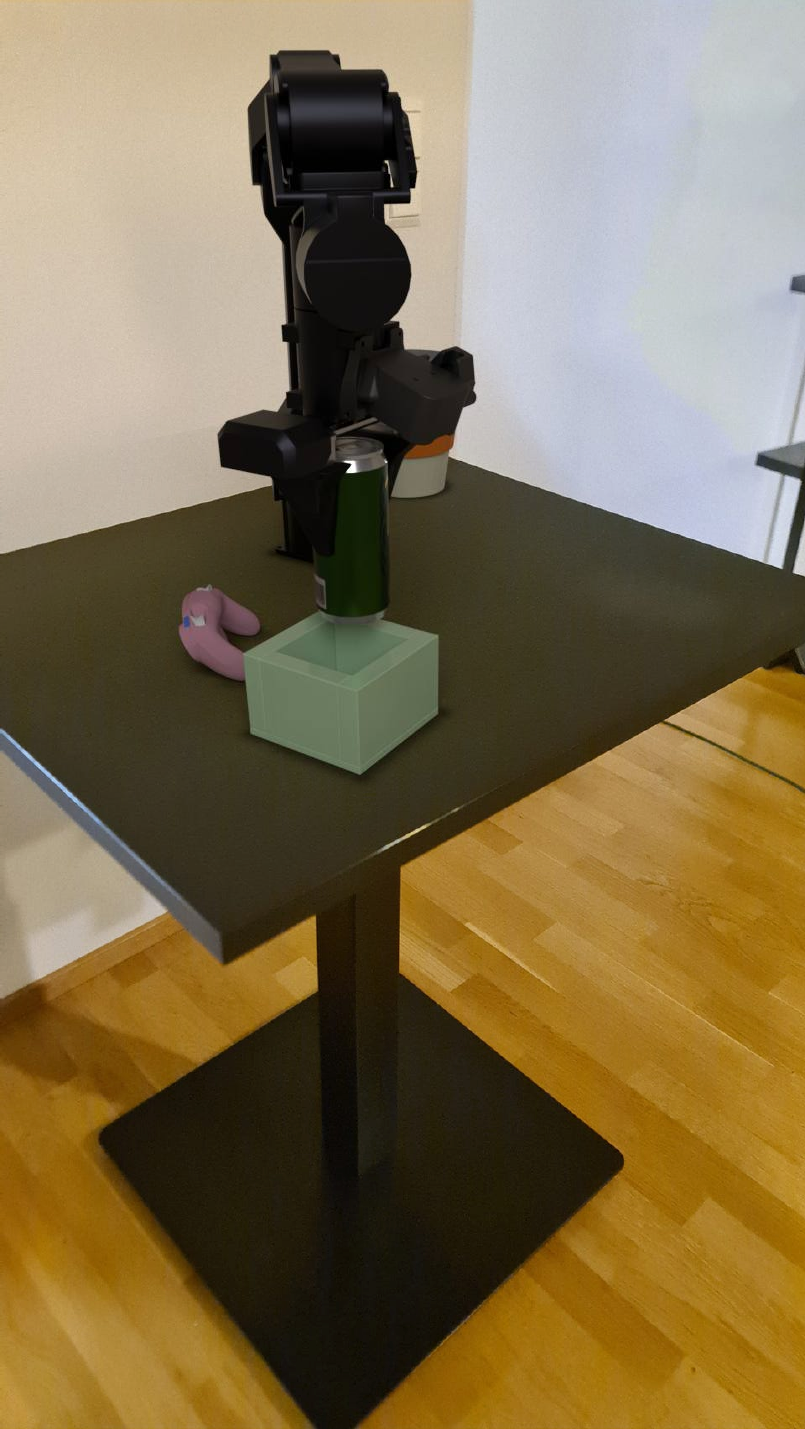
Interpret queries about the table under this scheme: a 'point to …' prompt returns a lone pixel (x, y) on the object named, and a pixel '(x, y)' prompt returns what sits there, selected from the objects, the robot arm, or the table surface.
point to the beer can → (357, 539)
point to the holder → (342, 689)
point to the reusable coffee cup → (424, 461)
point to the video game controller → (216, 630)
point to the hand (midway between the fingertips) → (349, 543)
